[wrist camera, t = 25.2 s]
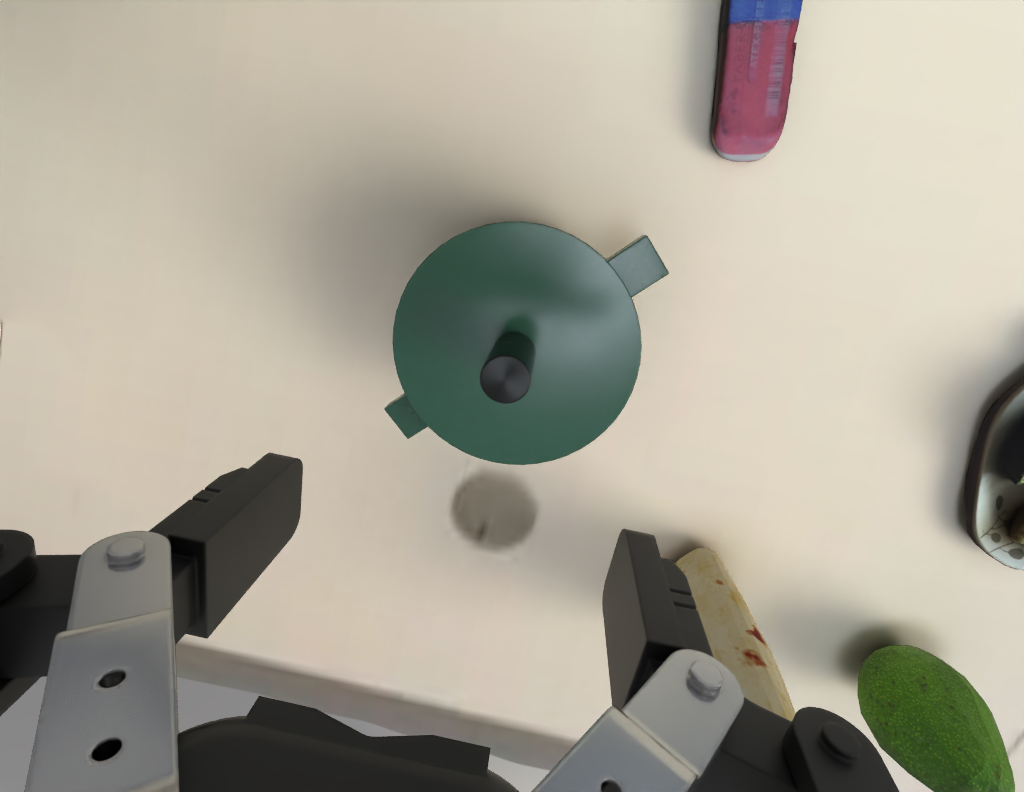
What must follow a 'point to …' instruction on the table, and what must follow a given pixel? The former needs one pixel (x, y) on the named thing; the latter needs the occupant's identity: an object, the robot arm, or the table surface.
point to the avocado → (932, 722)
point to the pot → (633, 267)
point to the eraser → (753, 76)
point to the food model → (734, 632)
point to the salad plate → (999, 481)
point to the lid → (517, 343)
